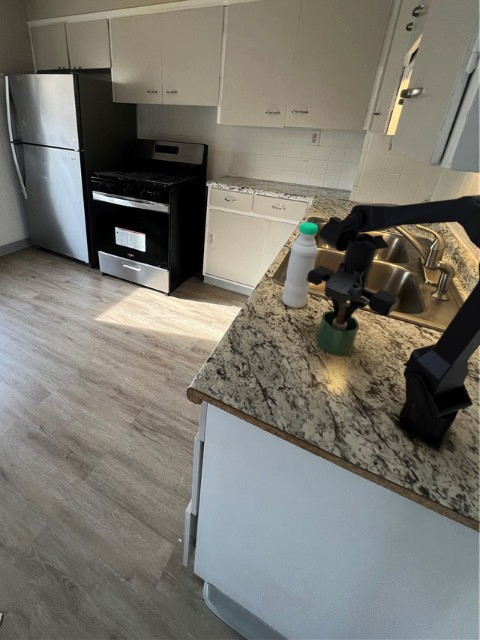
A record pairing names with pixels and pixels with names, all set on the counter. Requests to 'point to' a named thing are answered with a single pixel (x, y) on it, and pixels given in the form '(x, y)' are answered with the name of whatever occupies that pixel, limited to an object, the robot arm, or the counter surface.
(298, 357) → the counter surface
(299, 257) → the water bottle
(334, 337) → the green plastic cup
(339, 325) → the brush
